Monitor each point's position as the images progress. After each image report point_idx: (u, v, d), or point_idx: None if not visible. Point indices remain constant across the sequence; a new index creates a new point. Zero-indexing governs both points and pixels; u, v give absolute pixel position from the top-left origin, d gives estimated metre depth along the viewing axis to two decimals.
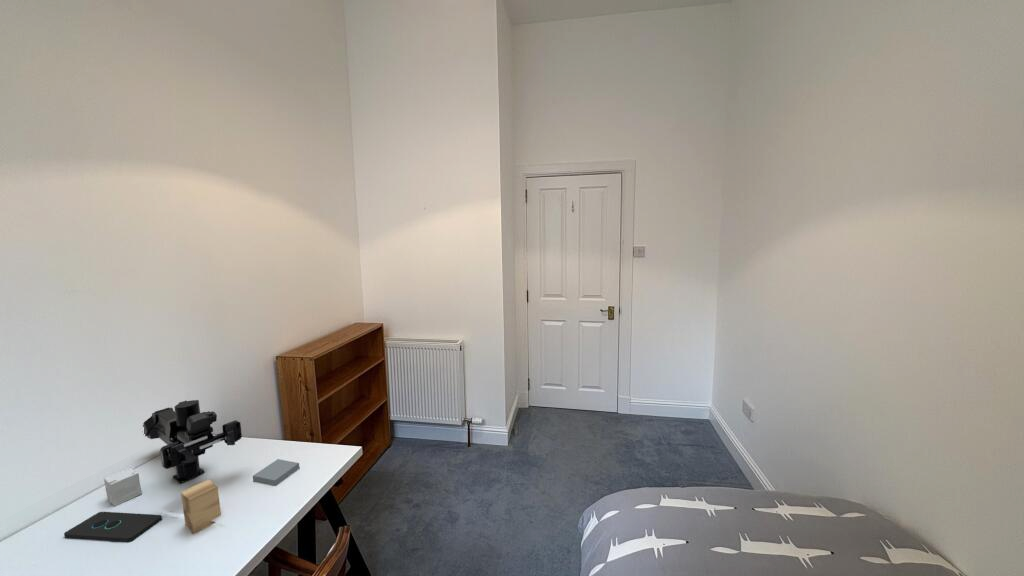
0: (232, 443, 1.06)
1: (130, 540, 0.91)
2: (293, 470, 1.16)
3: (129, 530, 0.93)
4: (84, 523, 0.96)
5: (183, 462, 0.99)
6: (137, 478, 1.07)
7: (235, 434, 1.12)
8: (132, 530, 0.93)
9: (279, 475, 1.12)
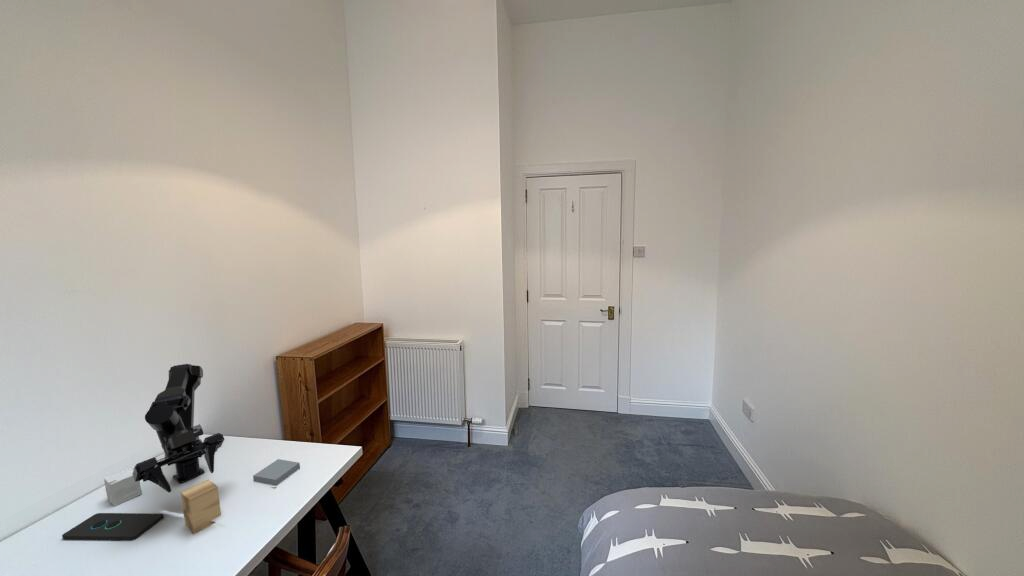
0: (210, 470, 1.02)
1: (133, 538, 0.91)
2: (294, 470, 1.16)
3: (131, 529, 0.93)
4: (82, 524, 0.95)
5: (156, 483, 0.94)
6: None
7: (215, 449, 1.06)
8: (135, 529, 0.93)
9: (280, 474, 1.12)
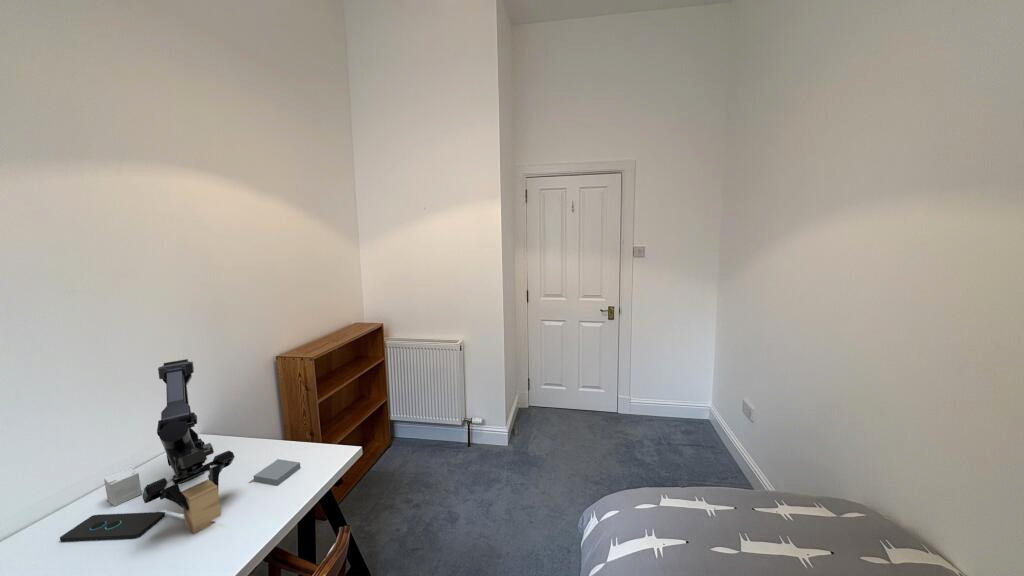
0: None
1: (137, 536, 0.92)
2: (294, 469, 1.16)
3: (134, 528, 0.94)
4: (79, 526, 0.95)
5: (173, 501, 0.93)
6: (137, 478, 1.07)
7: (219, 469, 1.02)
8: (137, 528, 0.94)
9: (281, 474, 1.12)
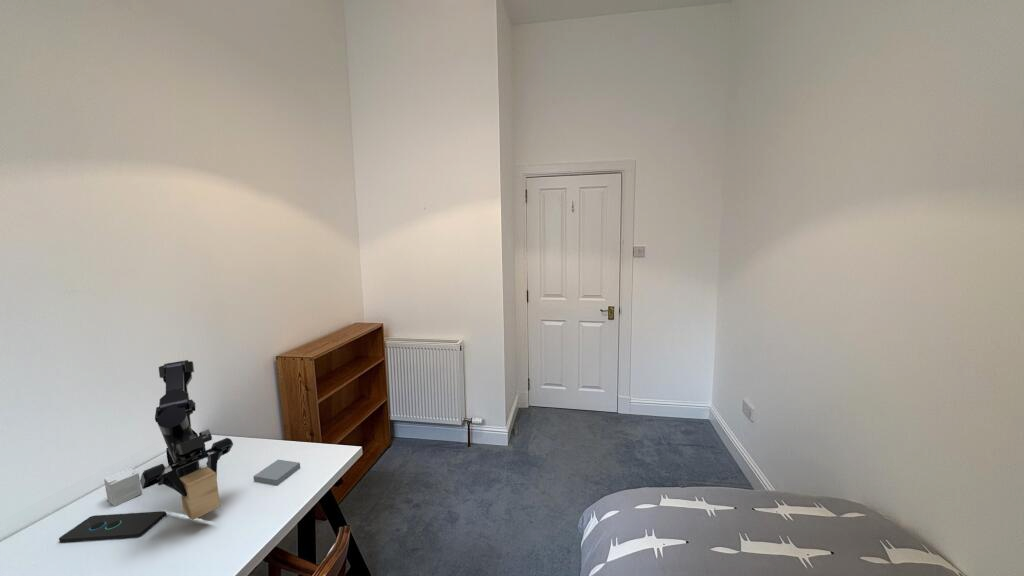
0: None
1: (139, 535, 0.92)
2: (294, 470, 1.16)
3: (135, 527, 0.94)
4: (78, 527, 0.94)
5: (171, 487, 0.93)
6: (137, 478, 1.07)
7: (218, 457, 1.02)
8: (139, 527, 0.94)
9: (280, 474, 1.12)
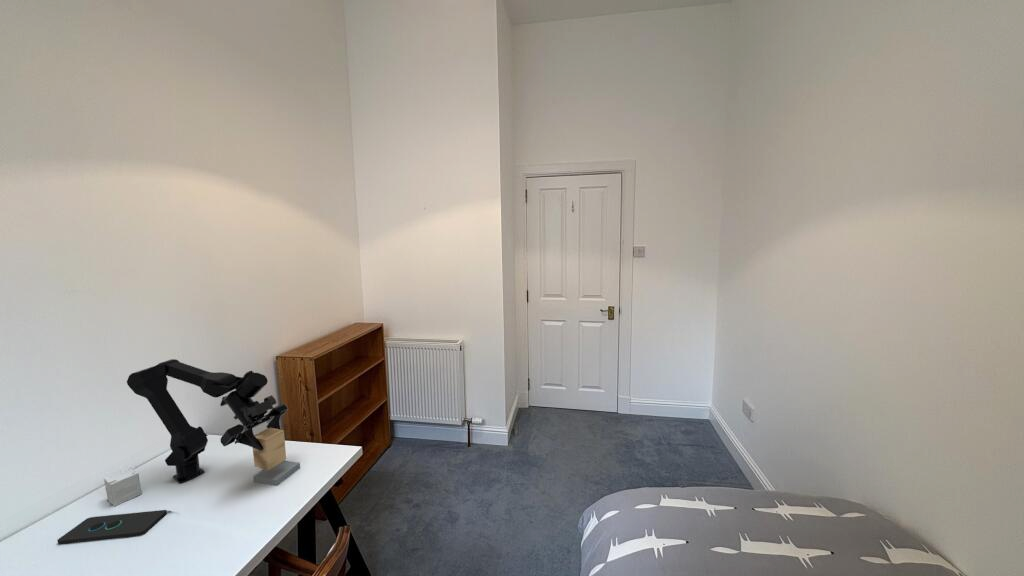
0: None
1: (142, 534, 0.93)
2: (294, 470, 1.16)
3: (137, 526, 0.94)
4: (76, 529, 0.94)
5: (247, 444, 1.08)
6: (137, 478, 1.07)
7: None
8: (141, 526, 0.95)
9: (280, 474, 1.12)
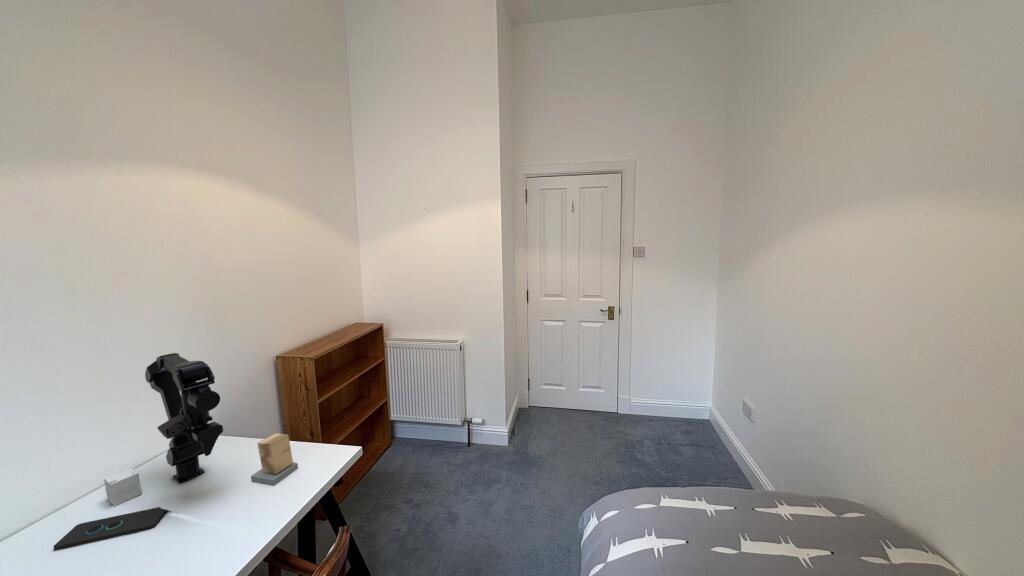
0: None
1: (153, 527, 0.95)
2: (291, 470, 1.16)
3: (143, 521, 0.96)
4: (70, 534, 0.92)
5: None
6: (137, 478, 1.07)
7: None
8: (148, 521, 0.96)
9: (277, 475, 1.12)
